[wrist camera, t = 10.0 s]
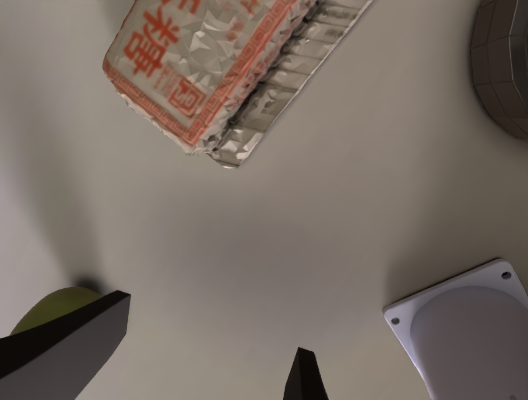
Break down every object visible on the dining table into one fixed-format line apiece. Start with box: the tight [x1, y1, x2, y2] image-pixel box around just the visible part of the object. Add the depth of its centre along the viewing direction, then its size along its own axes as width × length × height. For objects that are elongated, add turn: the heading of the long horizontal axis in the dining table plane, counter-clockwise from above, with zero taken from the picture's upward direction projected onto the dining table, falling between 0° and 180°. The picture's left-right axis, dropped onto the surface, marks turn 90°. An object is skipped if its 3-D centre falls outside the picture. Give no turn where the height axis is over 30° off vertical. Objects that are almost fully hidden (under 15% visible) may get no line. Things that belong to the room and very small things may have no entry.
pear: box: [10, 287, 102, 335], centre depth 21 cm, size 6×5×10 cm
